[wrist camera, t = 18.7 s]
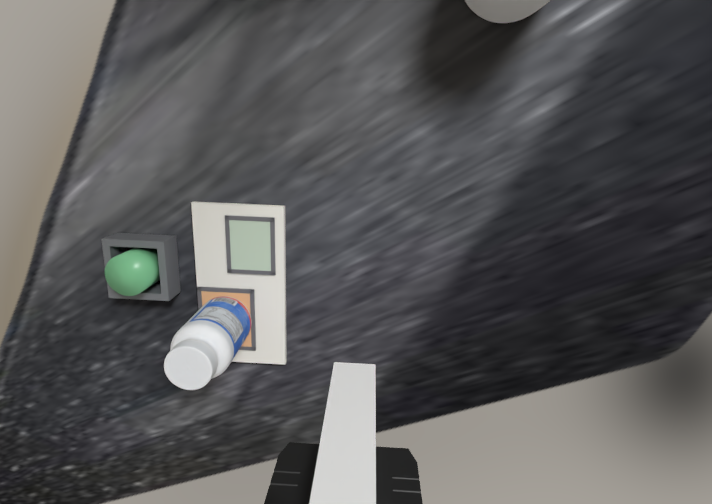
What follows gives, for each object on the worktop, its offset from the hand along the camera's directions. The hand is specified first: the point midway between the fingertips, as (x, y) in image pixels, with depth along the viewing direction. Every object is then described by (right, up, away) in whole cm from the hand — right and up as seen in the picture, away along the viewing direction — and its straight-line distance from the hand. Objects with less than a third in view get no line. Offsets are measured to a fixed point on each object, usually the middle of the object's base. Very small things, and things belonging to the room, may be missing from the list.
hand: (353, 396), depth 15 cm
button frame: (-21, +4, +27) cm, 35 cm away
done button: (-21, +4, +27) cm, 34 cm away
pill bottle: (-13, -1, +28) cm, 31 cm away
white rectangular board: (-12, +2, +27) cm, 30 cm away
